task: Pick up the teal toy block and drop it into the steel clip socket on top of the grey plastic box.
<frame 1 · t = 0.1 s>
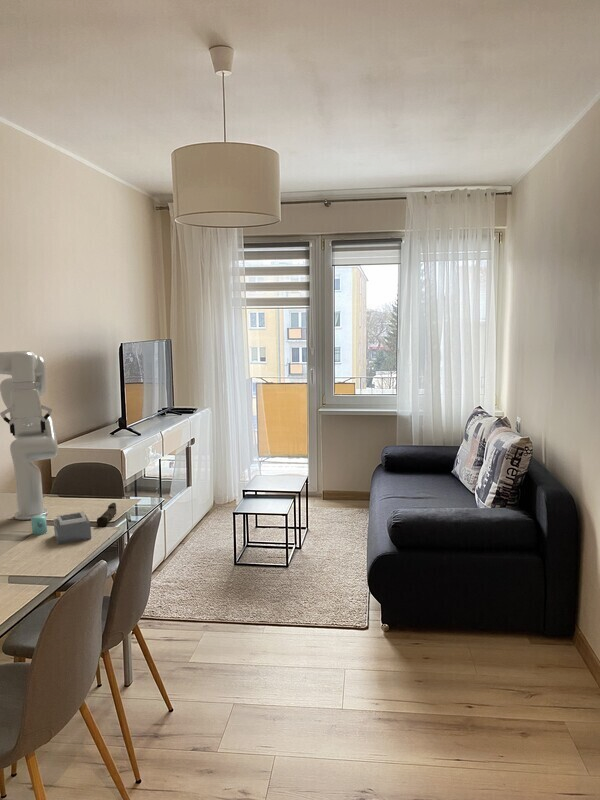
hand: (28, 433, 233), 37 cm above the table, tool pointing down, fingers open, 9 cm apart
hand tool: (107, 520, 251), on the table
grey plastic box: (72, 537, 230), on the table
teal toy block: (39, 532, 236), on the table
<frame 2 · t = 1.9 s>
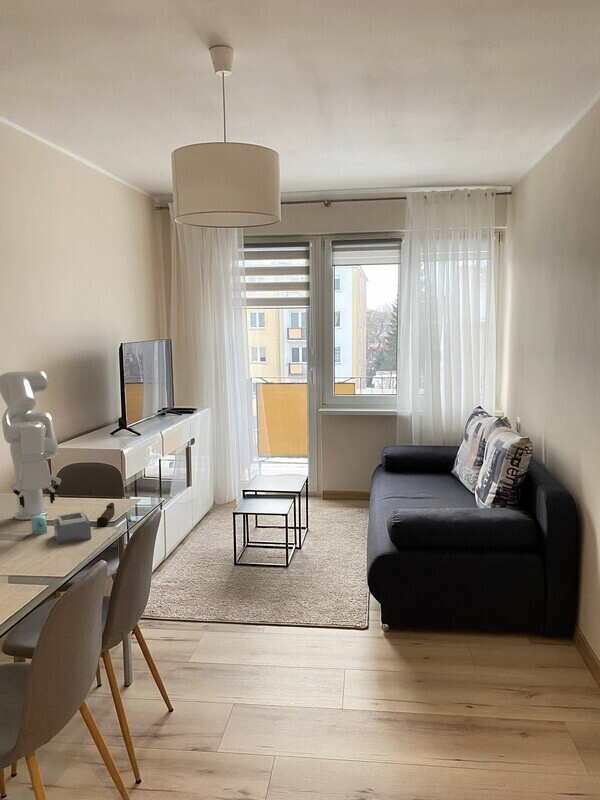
hand: (37, 504, 234), 11 cm above the table, tool pointing down, fingers open, 9 cm apart
nothing on the table moved.
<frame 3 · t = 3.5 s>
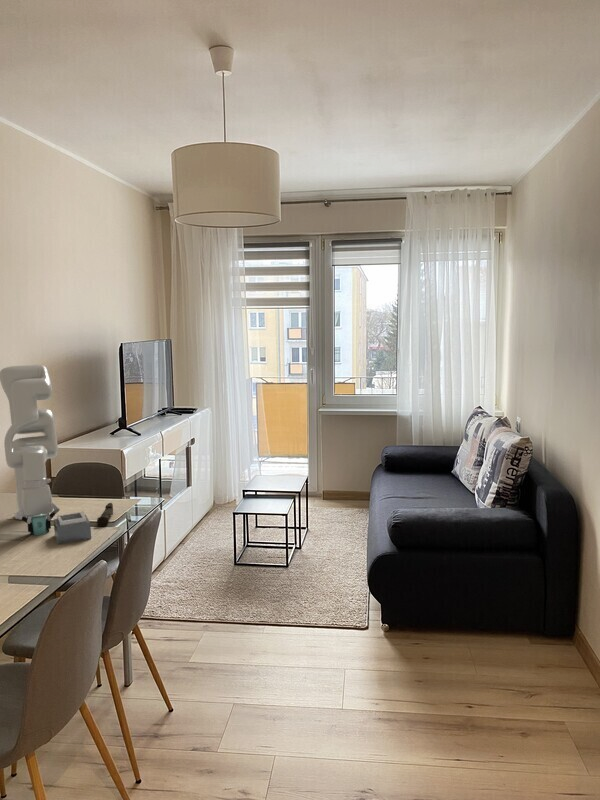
hand: (39, 531, 236), 0 cm above the table, tool pointing down, fingers closed on teal toy block, 5 cm apart
teal toy block: (39, 532, 236), on the table, touching gripper
everything else where it was.
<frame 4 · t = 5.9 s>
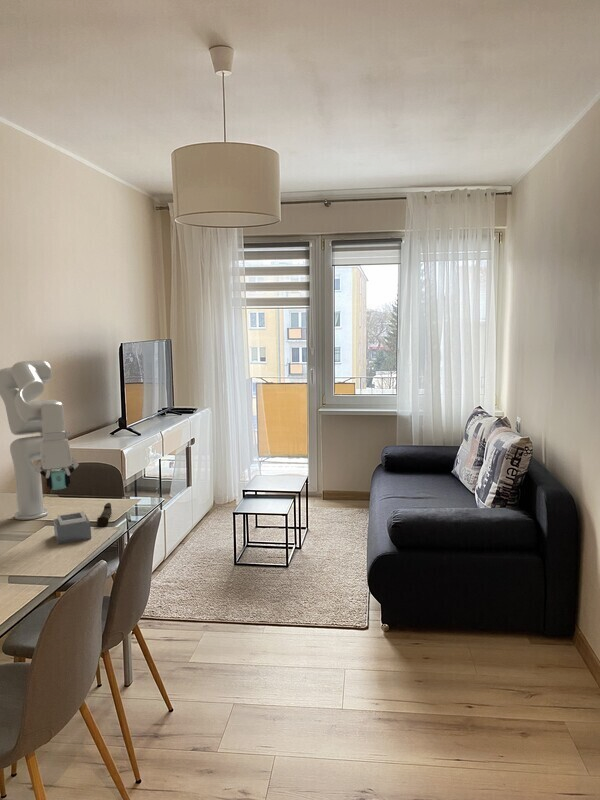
hand: (58, 486, 229), 18 cm above the table, tool pointing down, fingers closed on teal toy block, 5 cm apart
teal toy block: (58, 488, 229), point 18 cm above the table, touching gripper
when the fingers open (9 cm above the table, at t = 8.7 s): teal toy block drops 2 cm, resting on grey plastic box.
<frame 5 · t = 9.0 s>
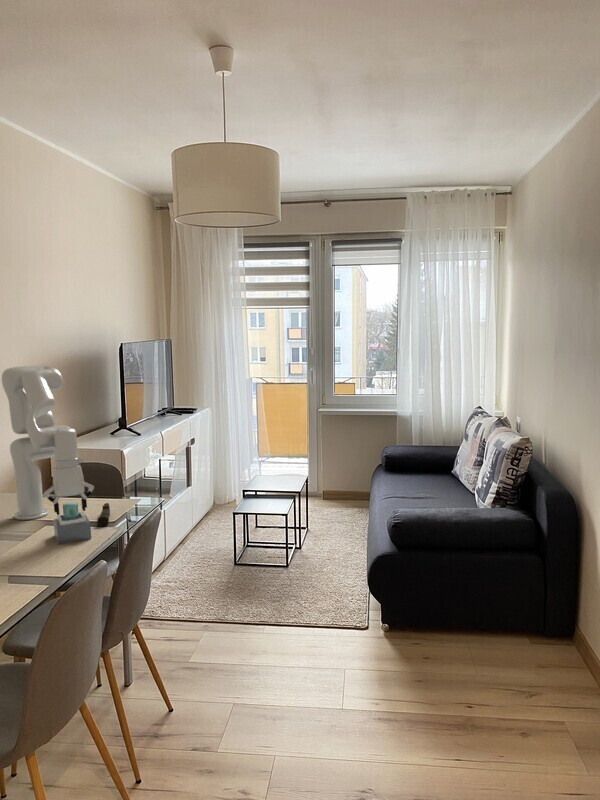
hand: (70, 511, 229), 9 cm above the table, tool pointing down, fingers open, 8 cm apart
teal toy block: (71, 520, 229), point 6 cm above the table, touching grey plastic box
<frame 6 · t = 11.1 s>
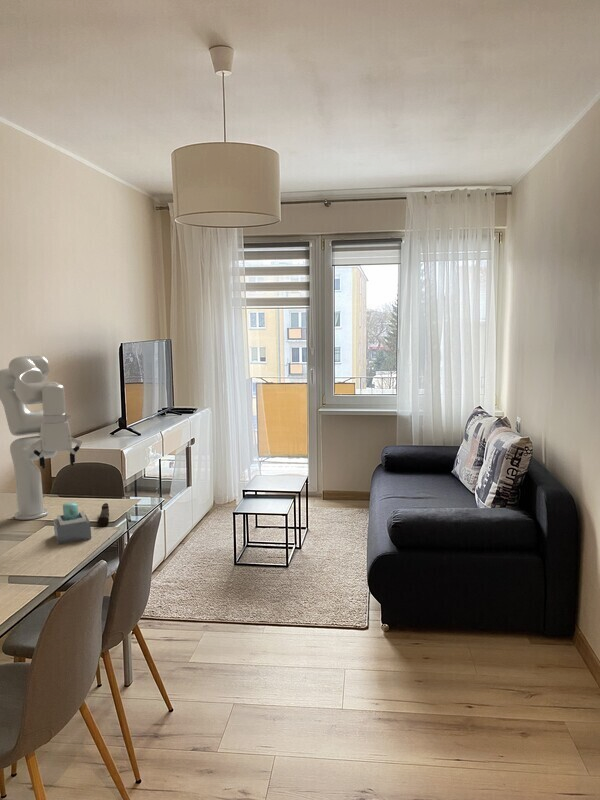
hand: (57, 466, 231), 25 cm above the table, tool pointing down, fingers open, 9 cm apart
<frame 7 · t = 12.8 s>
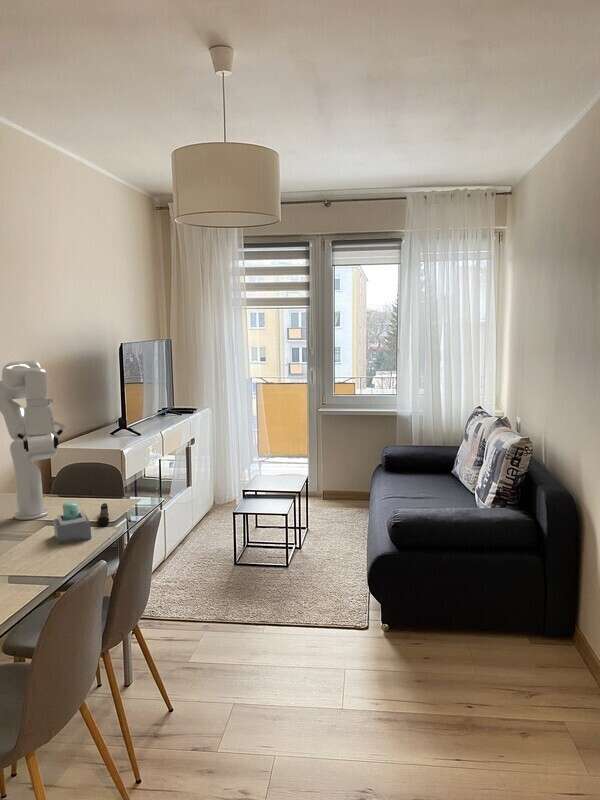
hand: (41, 449, 236), 30 cm above the table, tool pointing down, fingers open, 9 cm apart
at the end: teal toy block 0.1 cm off-centre on the grey plastic box, point 6.0 cm above the grey plastic box's base; teal toy block tilted 0°; the gripper is holding nothing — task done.
